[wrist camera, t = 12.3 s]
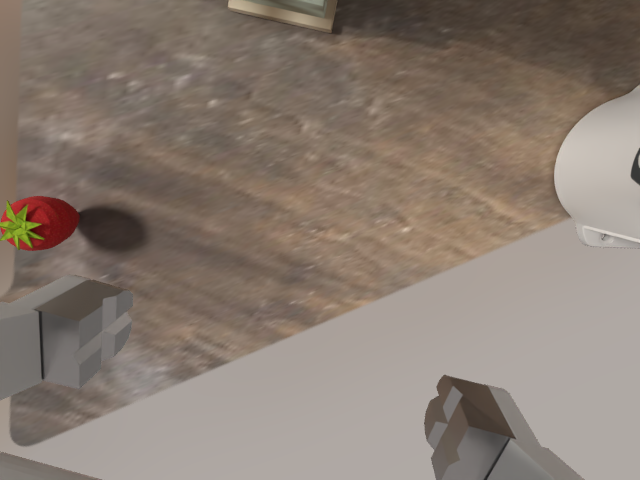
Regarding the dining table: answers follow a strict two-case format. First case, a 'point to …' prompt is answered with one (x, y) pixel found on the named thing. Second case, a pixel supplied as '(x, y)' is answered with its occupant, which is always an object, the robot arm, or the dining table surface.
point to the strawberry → (38, 223)
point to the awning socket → (290, 11)
